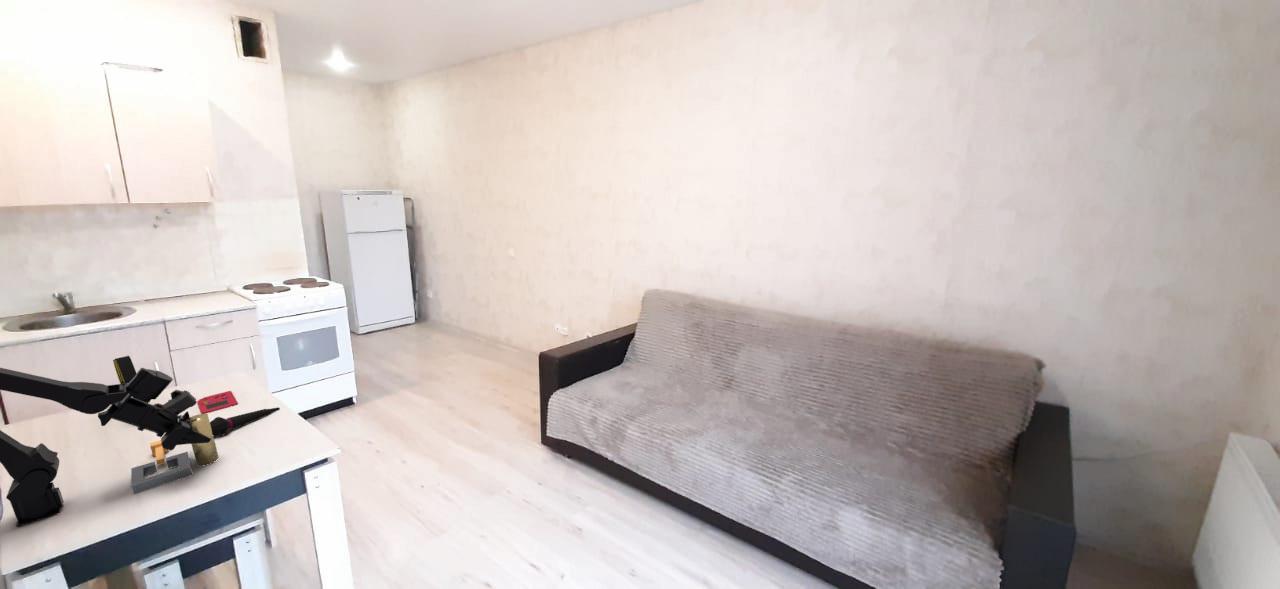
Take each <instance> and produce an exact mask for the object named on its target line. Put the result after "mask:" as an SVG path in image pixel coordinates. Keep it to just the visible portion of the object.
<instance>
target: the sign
mask: <svg viewBox="0 0 1280 589" xmlns="http://www.w3.org/2000/svg"><path fill="white" fill-rule="evenodd" d="M112 362H113V363H112V364H113V366H114V369H115V370H114V371H115V372H116V376H117V378H118V381H119V384H124V383H129V382H130V381H131V380H132V379H133V378H134V377H135V375H136V374H137V370H136V369H135V366H134V364H133V361H132V359H131V356H130V355H125V356H122V357H117V358H114V359H112ZM131 397H132V396H131ZM132 398H135V397H132ZM135 399H137V398H135ZM137 400H139V399H137ZM140 401H142V400H140ZM143 402H146V403H149V404H150V402H151V401H143Z"/></svg>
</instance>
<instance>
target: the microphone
mask: <svg viewBox="0 0 1280 589" xmlns="http://www.w3.org/2000/svg"><path fill="white" fill-rule="evenodd" d="M280 408H281V407H274V408H263V409H260V410H255V411H252V412H251V411H250V412H246V413H242V414H238V415H235V416H230V417H227V418H224V417H221V416H217V417H215V418H213V420H211V421H209V422H210V425H211V429H212V433H213V437H217V436H218V437H221V436H225V435H226V433H227V432H228V431H229V430H232V429H235V428H237V427H243V426H245V425H246V424H248V423H251V422H253V421H257V420H259V419H261V418H264V417H266V416H267V417H268V415H270V414H272V413H274V412H277V411H278V410H280ZM256 419H257V420H256Z"/></svg>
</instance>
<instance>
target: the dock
mask: <svg viewBox="0 0 1280 589" xmlns="http://www.w3.org/2000/svg"><path fill="white" fill-rule="evenodd" d="M155 461H156V460H155ZM155 461H154V460H153V461H151V462H147V463H145V464H144V463H143V464H142V465H139V466H136V467H135V466H134V467H131V470H130V474H131V475H130V479H131V480H130V481H131V482H130V484H131V486H130V487H131V491H132V495H135V494H138V493H141V492H144V491H147V490H148V491H149V490H151V489H154V488H157V487H160V485H161V486H163V484H164V485H166V483H167V484H169V483H172V482H175V481H179V480H182V479H185V478H188V477H191V476H193V470H191V469H192V466H191V465H192V463H191V460H190V456H189V452H188V451H184V452H181V453H177V454H175V455H171V456H169V457H165V464H166V466H167V468H168V469H170V470H168V471H163V472H161V473H158V474H155V472H156V473H157V472H158V470H157V469H158V468H157V465H156V462H155ZM174 466H175V467H174ZM171 467H172V468H174V469H172V468H171ZM151 474H155V475H151ZM149 475H151V476H149ZM190 475H191V476H190ZM146 476H148V477H146ZM178 479H179V480H178Z"/></svg>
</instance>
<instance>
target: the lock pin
mask: <svg viewBox="0 0 1280 589" xmlns="http://www.w3.org/2000/svg"><path fill="white" fill-rule="evenodd" d="M149 447H150V450H151V455H152V457H155V461H156V462H155V463H156V464H157V465H156V466H159V465H163V464H166V457H165V453H169V451H170V450H168V449H164V448H163V447H162V443H161V439H160V440H157V441H153V442H150V443H149Z"/></svg>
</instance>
